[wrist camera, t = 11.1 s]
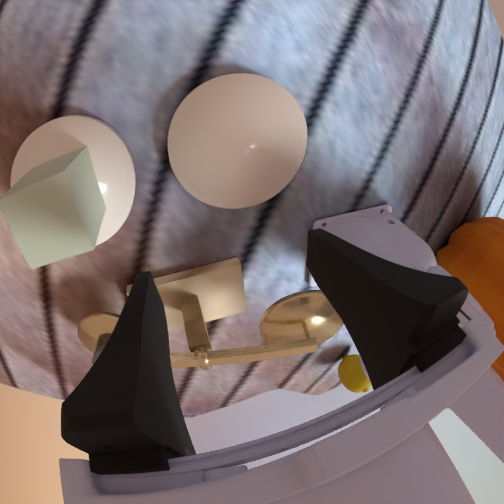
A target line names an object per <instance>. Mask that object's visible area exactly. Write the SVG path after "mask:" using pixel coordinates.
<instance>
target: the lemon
mask: <svg viewBox="0 0 504 504" xmlns="http://www.w3.org/2000/svg"><path fill="white" fill-rule="evenodd" d="M338 374H339V378H340V380H341V382H342V384H343V385H344V386H345V387H346V388H347V389H348V390H350V391H352V392H357V393H358V392H367V391H368V390H369V387H370V386H371V382H370V381H369V380H368V378H367V377H366V375H365V373H364V371H363V369H362V366H361V362H360V355H344V356H343V360H342V361H341V362H340V364H339V367H338Z"/></svg>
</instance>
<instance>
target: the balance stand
mask: <svg viewBox="0 0 504 504" xmlns="http://www.w3.org/2000/svg"><path fill="white" fill-rule="evenodd" d="M153 280H154V282H155V285H156V287H157V289H158V292H159V294H160V297H161V299H162V301H163V304H164V309H165V314H166V319H167V326H168V331H172V330H176V329H180V328H184V327H185V331H186V336H187V340H188V345H189V349H190V351H191V352H195V350H196V349H197V348H199V347H204V348H206V349H207V351H213V350H212V347H211V343H210V340H209V336H208V332H207V329H206V325H205V322H208V321H211V320H215V319H219V318H223V317H226V316H230V315H233V314H237V313H240V312H244V311H247V306H246V299H245V291H244V284H243V276H242V268H241V263H240V261H239V259H238V257H235V258H232V259H228V260H224V261H220V262H216V263H212V264H208V265H204V266H200V267H197V268H193V269H189V270H185V271H181V272H177V273H173V274H169V275H165V276H161V277H158V278H154V279H153ZM132 285H133V284H130V285H127V289H126V294H127V296H128V295H129V293H130V290H131V287H132Z"/></svg>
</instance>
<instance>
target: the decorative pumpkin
mask: <svg viewBox="0 0 504 504" xmlns="http://www.w3.org/2000/svg"><path fill="white" fill-rule="evenodd" d="M436 262H437V265H439V266H441V267H442V268H443V269H445V270H446V271H447V272H448V273H449V274H450V275H451V276H453V277H457V278H458V279H459V280H460V281H461V282H462V283H463V284H464V285H465V286H466V287H467V288H468V292H469V293H470V294H471V295H472V296H473V297H474V298H475V299H476V301H477V302H478V303H479V304H480V305H481V306H482V308H483V310H484V311H485V312H486V313H487V314H488V316H489V317H490V318H491V320H492V321H493V323H494V329H495V331H496V337H497V338H498V340H499V341H500V342H501V343H502V345H503V346H504V220H503V219H501V218H499V217H483V218H477V219H475V220H474V221H472V222H470V223H465V224H463V225H462V226H460V227H458V228H457V229H456V230H455V231H454V232H452V233H451V236H450V239H449V242H448V245H447V246H445V247H443V248H442V249H440V250H438V251H437V256H436ZM490 366H491V367H492V368H493V369H494V371H495V372H496V373H497V374H498V375H499V376H500V377H501V379H502V380H503V381H504V351H503V352H502V353H501V354H500V355H499V357H498V358H497V359H496V360H495V361H494V362H493V363H492V364H491V365H490Z"/></svg>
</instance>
